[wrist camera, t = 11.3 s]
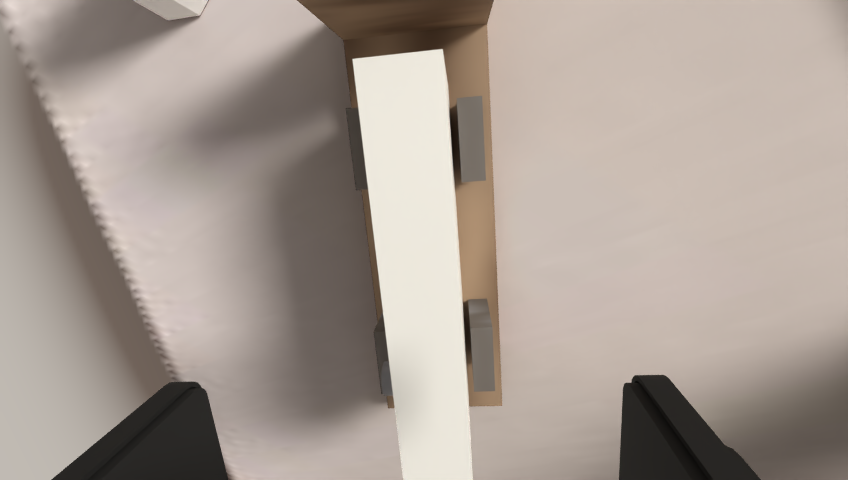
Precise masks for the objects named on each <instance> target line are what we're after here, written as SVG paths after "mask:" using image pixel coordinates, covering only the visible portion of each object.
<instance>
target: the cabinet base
mask: <svg viewBox="0 0 848 480" xmlns="http://www.w3.org/2000/svg"><path fill="white" fill-rule="evenodd" d="M297 1H299V2H300V3H301V4H302V5H303V6H304V7H306V8H307V9H308V10H309V11H310V12H311V13H313V14H314V15H315V16H316V17H317V18H318V19H320V20H321V21H322V22H323V23H324V24H325V25H327V26H328V27H329V28H330V29H331V30H332V31H334V32H335V33H336V34H337V35H338V36H339V37H341V38H342V39H343V41H344V49H345V57H346V65H347V74H348V82H349V90H350V98H351V107H352V108H347V109H346V113H347V121H348V129H349V137H350V145H351V153H352V161H353V169H354V177H355V185H356V190H362V197H363V205H364V214H365V222H366V230H367V238H368V247H369V255H370V263H371V271H372V279H373V288H374V296H375V304H376V312H377V321H378V323H377V326H376V328H375V331H374V337H375V345H376V353H377V361H378V369H379V377H380V385H381V393H382V394H383V392H382V384H381V374H382V366H383V363H384V362H385V361H389V357H388V349H387V341H386V333H385V324H384V316H383V308H382V299H381V291H380V283H379V275H378V266H377V258H376V250H375V242H374V233H373V225H372V217H371V208H370V200H369V192H368V184H367V175H366V167H365V159H364V151H363V142H362V134H361V126H360V117H359V109H358V101H357V93H356V84H355V76H354V68H353V60H352V59H356V58H365V57H374V56H384V55H393V54H402V53H411V52H420V51H429V50H438V49H443V55H444V61H445V68H446V75H447V82H448V91H449V106H450V121H451V136H452V151H453V166H454V181H455V195H456V210H457V225H458V240H459V255H460V270H461V285H462V300H463V314H464V329H465V344H466V359H467V376H468V396H469V406H502V389H501V364H500V339H499V314H498V289H497V264H496V239H495V214H494V188H493V163H492V138H491V113H490V88H489V63H488V38H487V22H488V18H489V15H490V11H491V8H492V4H493V1H494V0H297ZM387 403H388V408H395V407H394V399H393V396H387Z"/></svg>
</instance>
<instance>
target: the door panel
mask: <svg viewBox="0 0 848 480" xmlns="http://www.w3.org/2000/svg"><path fill="white" fill-rule="evenodd" d="M352 60H353V68H354V76H355V84H356V93H357V101H358V109H359V117H360V126H361V134H362V142H363V151H364V159H365V167H366V175H367V184H368V192H369V200H370V208H371V217H372V225H373V233H374V242H375V250H376V258H377V266H378V275H379V283H380V291H381V299H382V308H383V316H384V324H385V333H386V341H387V349H388V357H389V361H385V362H384V363H383V366H382V374H381V384H382V392H383V395H384V396H393V399H394V407H395V415H396V424H397V432H398V440H399V448H400V457H401V465H402V473H403V480H473V476H472V456H471V436H470V416H469V396H468V376H467V359H466V344H465V329H464V314H463V300H462V285H461V270H460V255H459V240H458V225H457V210H456V195H455V181H454V166H453V151H452V136H451V121H450V106H449V91H448V82H447V75H446V68H445V61H444V55H443V49H438V50H429V51H420V52H411V53H402V54H393V55H384V56H374V57H365V58H356V59H352Z"/></svg>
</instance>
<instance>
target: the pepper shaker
mask: <svg viewBox="0 0 848 480" xmlns="http://www.w3.org/2000/svg"><path fill="white" fill-rule="evenodd" d="M133 1H134V2H136V3H138V4H140V5H141V6H143V7H145V8H147V9H148V10H150V11H152V12H154V13H156V14H157V15H159V16H161V17H163V18H164V19H166V20H175V19H181V18H187V17H193V16H199V15H201V13H202V11H203V9H204V7H205V5H206V4H207V2H208V0H133Z"/></svg>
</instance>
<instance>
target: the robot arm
mask: <svg viewBox="0 0 848 480" xmlns="http://www.w3.org/2000/svg"><path fill="white" fill-rule="evenodd" d="M52 480H228V477H227V473H226V469H225V465H224V461H223V456H222V452H221V448H220V444H219V440H218V436H217V432H216V428H215V424H214V420H213V416H212V412H211V408H210V404H209V400H208V396H207V393H206V391H205V390H204V389H203V388H201V386H200V385H199V384H198V383H197V382H171V383H168V384H167V385H165V386H164V387H163V388H161V389H160V390H159V391H158V392H157V393H156V394H154V395H153V396H152V397H151V398H149V399H148V400H147V401H146V402H145V403H143V404H142V405H141V406H140V407H139V408H137V409H136V410H135V411H134V412H133V413H131V414H130V415H129V416H128V417H126V419H124V420H123V421H122V422H120V424H118V425H117V426H116V427H114V428H113V429H112V430H111V431H110V432H108V433H107V434H106V435H105V436H104V437H102V438H101V439H100V440H99V441H98V442H96V443H95V444H94V445H93V446H91V447H90V448H89V449H88V450H87V451H86V452H84V453H83V454H82V455H81V456H79V457H78V458H77V459H76V460H75V461H73V462H72V463H71V464H70V465H69V466H67V467H66V468H65V469H64V470H63V471H61V472H60V473H59V474H58V475H57V476H55V477H54V478H53V479H52ZM619 480H761V479H760V478H759V477H758V476H757V475H756V474H755V472H754V471H753V470H752V469H751V468H750V467H749V466H748V464H747V463H746V462H745V461H744V460H743V459H742V457H741V456H740V455H739V454H738V453H737V452H735V451H734V450H733V449H732V448H730V447H727V446H725V445H724V444H723V442H722V441H721V440H720V439H719V438H718V436H717V435H716V434H715V433H714V432H713V431H712V429H711V428H710V427H709V426H708V425H707V423H706V422H705V421H704V420H703V419H702V417H701V416H700V415H699V414H698V413H697V412H696V410H695V409H694V408H693V407H692V406H691V404H690V403H689V402H688V401H687V400H686V398H685V397H684V396H683V395H682V394H681V392H680V391H679V390H678V389H677V388H676V387H675V385H674V384H673V383H672V382H671V381H670V379H669V378H668V377H666V376H664V375H635V376H634V377H633V379H632V383H625V384H624V387H623V403H622V425H621V448H620V470H619Z"/></svg>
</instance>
